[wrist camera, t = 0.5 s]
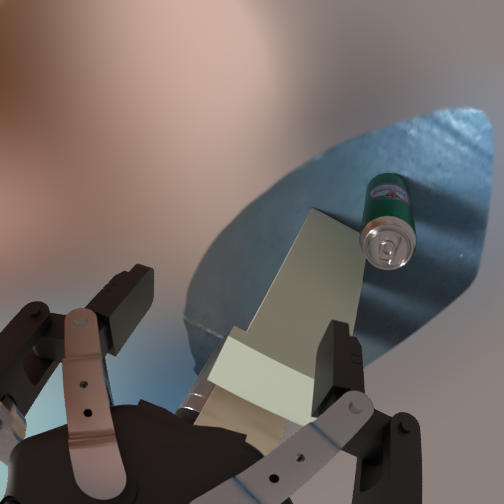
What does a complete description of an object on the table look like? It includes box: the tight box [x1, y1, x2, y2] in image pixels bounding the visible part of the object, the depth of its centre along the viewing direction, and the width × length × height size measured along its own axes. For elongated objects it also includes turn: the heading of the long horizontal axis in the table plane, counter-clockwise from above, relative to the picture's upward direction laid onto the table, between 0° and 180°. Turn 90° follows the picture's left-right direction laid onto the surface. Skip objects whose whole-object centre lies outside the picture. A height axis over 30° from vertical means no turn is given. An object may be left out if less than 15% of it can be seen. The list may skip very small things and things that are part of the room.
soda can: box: [359, 173, 417, 270], centre depth 28 cm, size 5×5×12 cm
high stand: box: [194, 275, 289, 456], centre depth 34 cm, size 8×10×30 cm
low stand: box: [207, 208, 366, 426], centre depth 31 cm, size 8×10×22 cm
